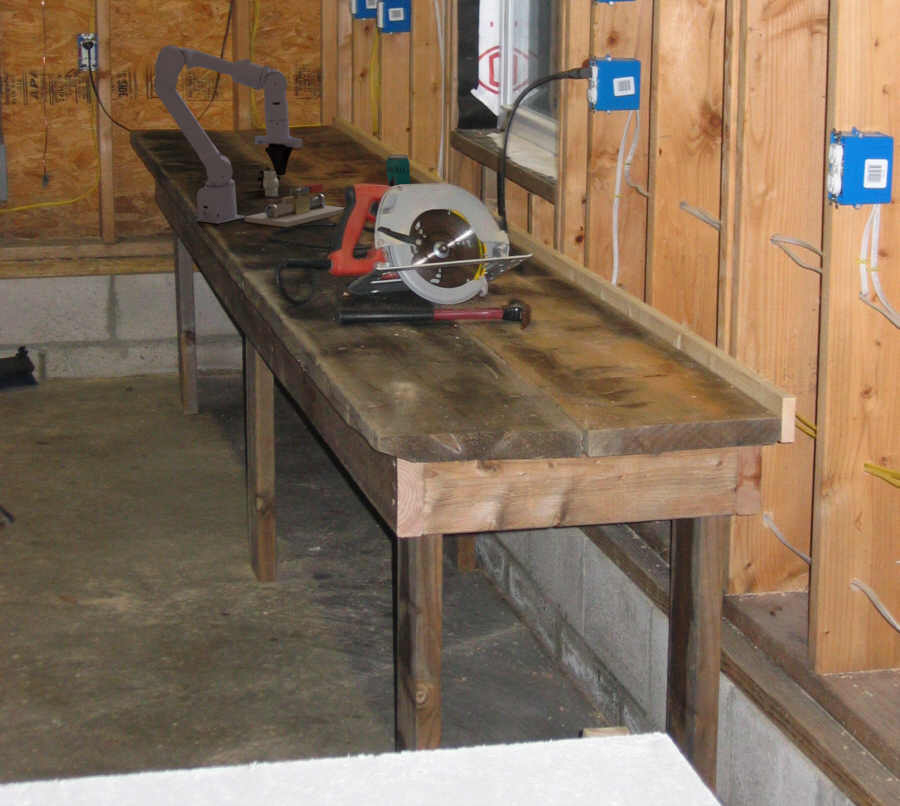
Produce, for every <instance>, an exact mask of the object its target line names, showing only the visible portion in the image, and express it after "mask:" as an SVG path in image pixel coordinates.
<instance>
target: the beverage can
mask: <svg viewBox="0 0 900 806" xmlns="http://www.w3.org/2000/svg"><path fill="white" fill-rule="evenodd" d="M386 158H387V159H386V164H385V165H386V167H385V168H386V169H385V170H386V186H387V185H389V186H393V185H399V184H410V185H411V172H410V171H411V168H410V165H411V164H410V159H409V156H408V154H407V155H406V154H390V155H387V156H386Z"/></svg>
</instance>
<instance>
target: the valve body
mask: <svg viewBox="0 0 900 806" xmlns="http://www.w3.org/2000/svg"><path fill="white" fill-rule="evenodd" d="M326 202H327V200H326V197H325V195H323V194H322V193H320V192H319V193H315V194H314V195H312V196H306V195H298V196H291V195H289V196H284V197H282V198H281V203H276V204H274V203H270V204H267V205H266V206H265V208H264V212H265V213H266V216H267V217H268V218H274V219H275V218H277V217H279V216H283V215H288V214H295V215H298V214H302V213H306V212H310V209H314V208H318V207H321V208H322V207H325V205H326V204H327V203H326ZM326 206H327V205H326Z"/></svg>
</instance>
